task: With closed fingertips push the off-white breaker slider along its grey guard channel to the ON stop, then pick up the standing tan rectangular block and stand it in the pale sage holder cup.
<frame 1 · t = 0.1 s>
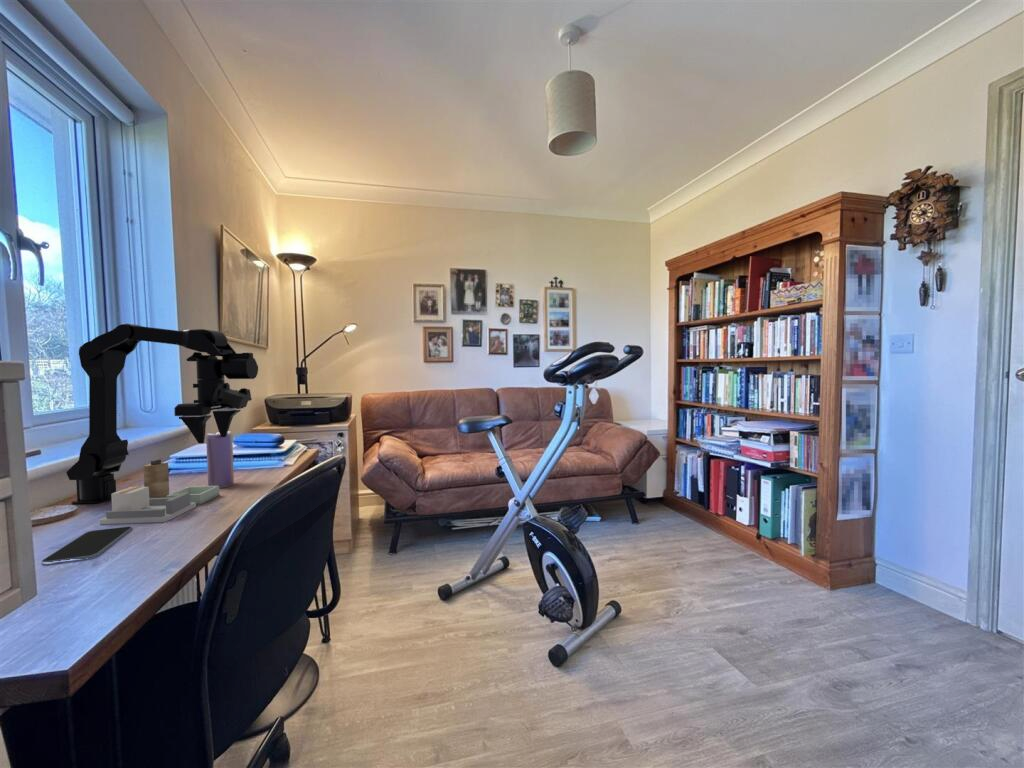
hand: (212, 440, 107), 15 cm above the table, fingers open, 9 cm apart
smartphone: (91, 547, 79), on the table
beverage can: (221, 486, 117), on the table
holder: (194, 500, 105), on the table
breaker: (131, 499, 94), point 4 cm above the table, slide at 0.0 cm
panel: (150, 514, 94), on the table
tan rectangular block: (157, 499, 106), on the table
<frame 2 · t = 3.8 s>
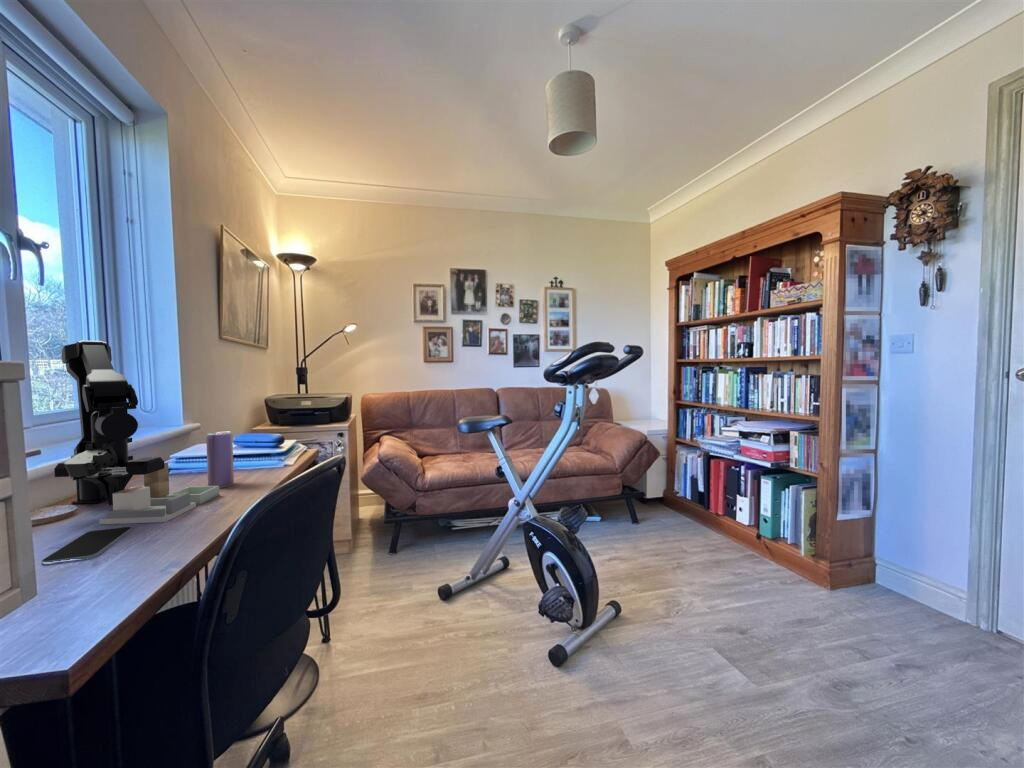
hand: (113, 504, 93), 3 cm above the table, fingers closed
breaker: (132, 499, 94), point 4 cm above the table, slide at 0.2 cm, touching gripper
everything else where it was.
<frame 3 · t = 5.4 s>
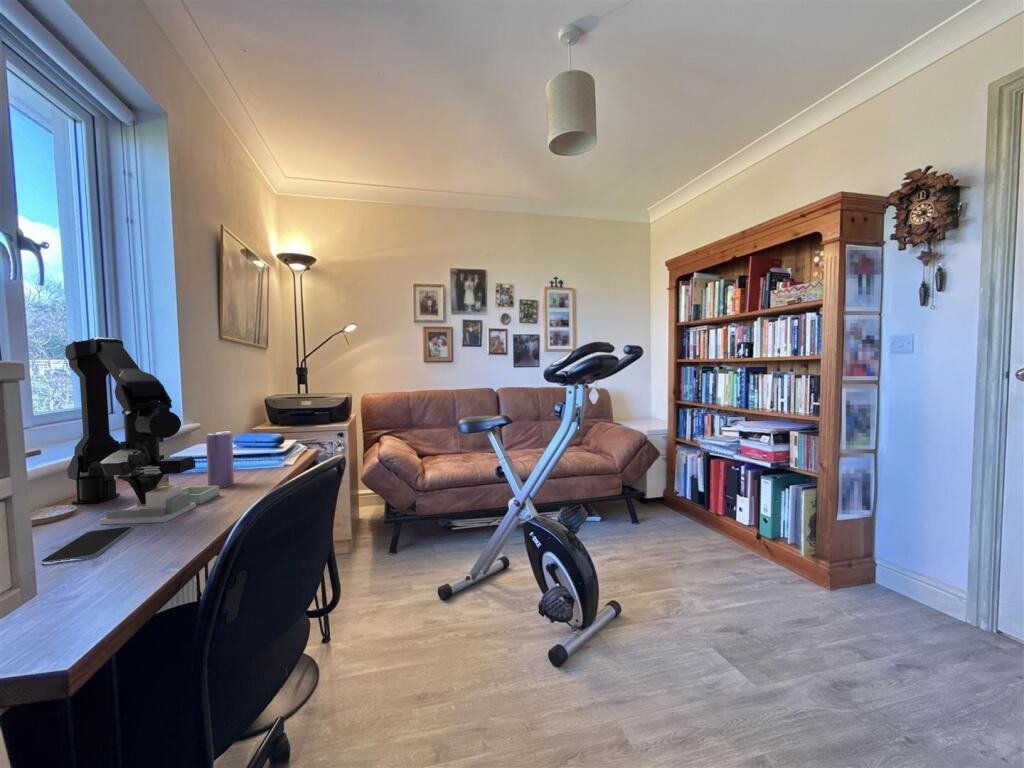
hand: (145, 503, 94), 3 cm above the table, fingers closed
breaker: (163, 498, 94), point 4 cm above the table, slide at 6.9 cm, touching gripper
everything else where it was.
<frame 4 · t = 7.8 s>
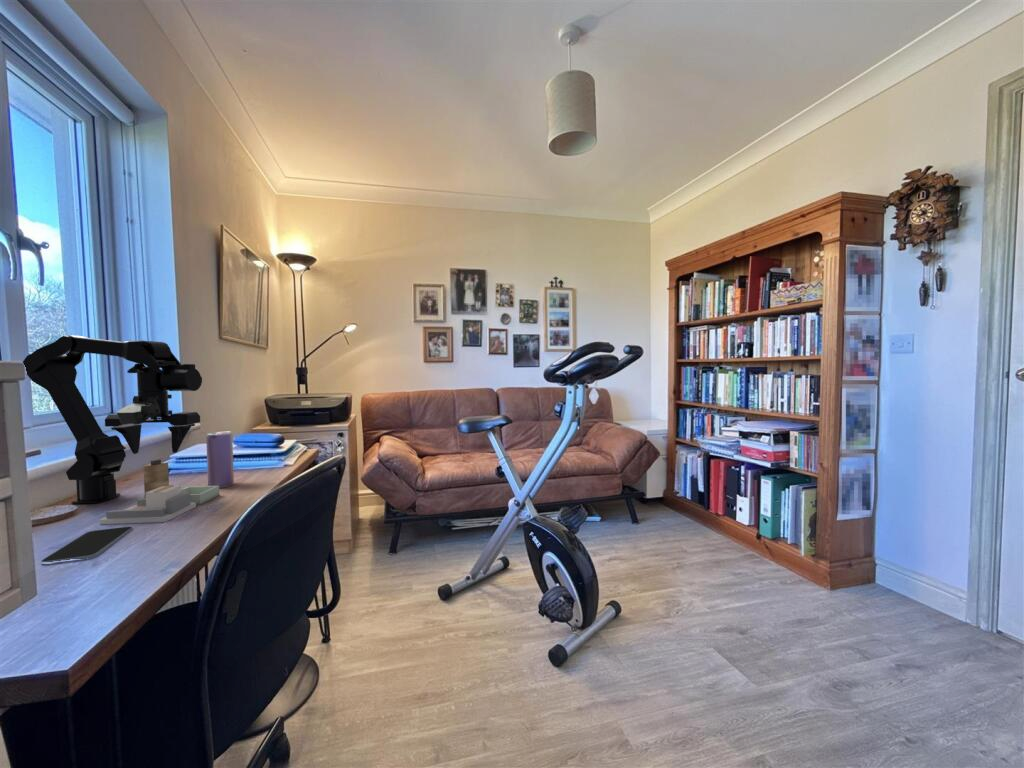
hand: (155, 453, 105), 12 cm above the table, fingers open, 9 cm apart
breaker: (164, 498, 94), point 4 cm above the table, slide at 6.9 cm
everything else where it was.
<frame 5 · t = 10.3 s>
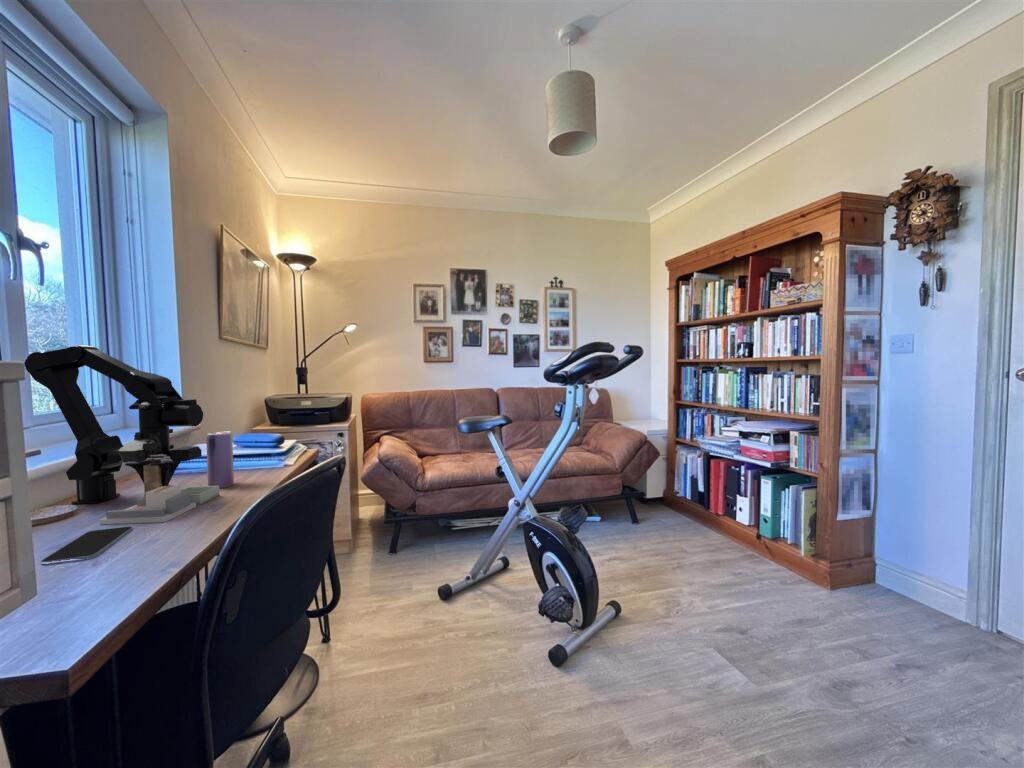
hand: (156, 488, 106), 3 cm above the table, fingers closed on tan rectangular block, 3 cm apart
tan rectangular block: (157, 499, 106), on the table, touching gripper
everything else where it was.
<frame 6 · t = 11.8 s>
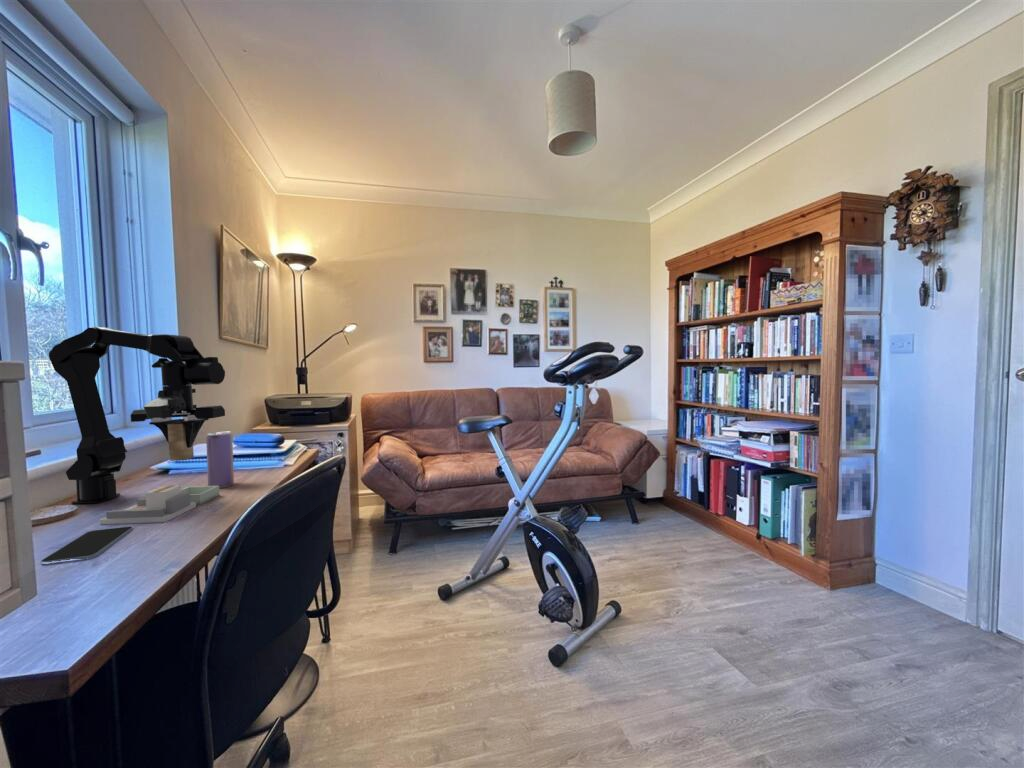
hand: (181, 447, 104), 13 cm above the table, fingers closed on tan rectangular block, 3 cm apart
tan rectangular block: (182, 459, 105), point 10 cm above the table, touching gripper
everything else where it was.
when the fingers open (5 cm above the table, at t = 13.6 s): tan rectangular block drops 2 cm, resting on holder.
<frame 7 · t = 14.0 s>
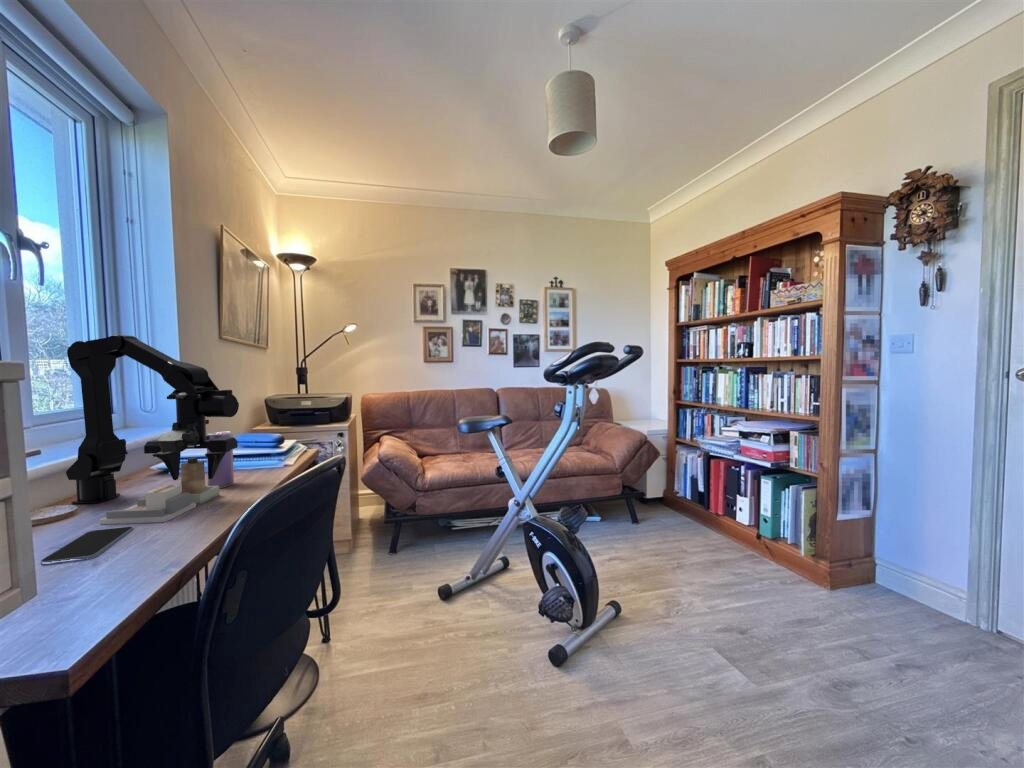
hand: (193, 479, 104), 5 cm above the table, fingers open, 8 cm apart
tan rectangular block: (193, 497, 105), point 1 cm above the table, touching holder
everything else where it was.
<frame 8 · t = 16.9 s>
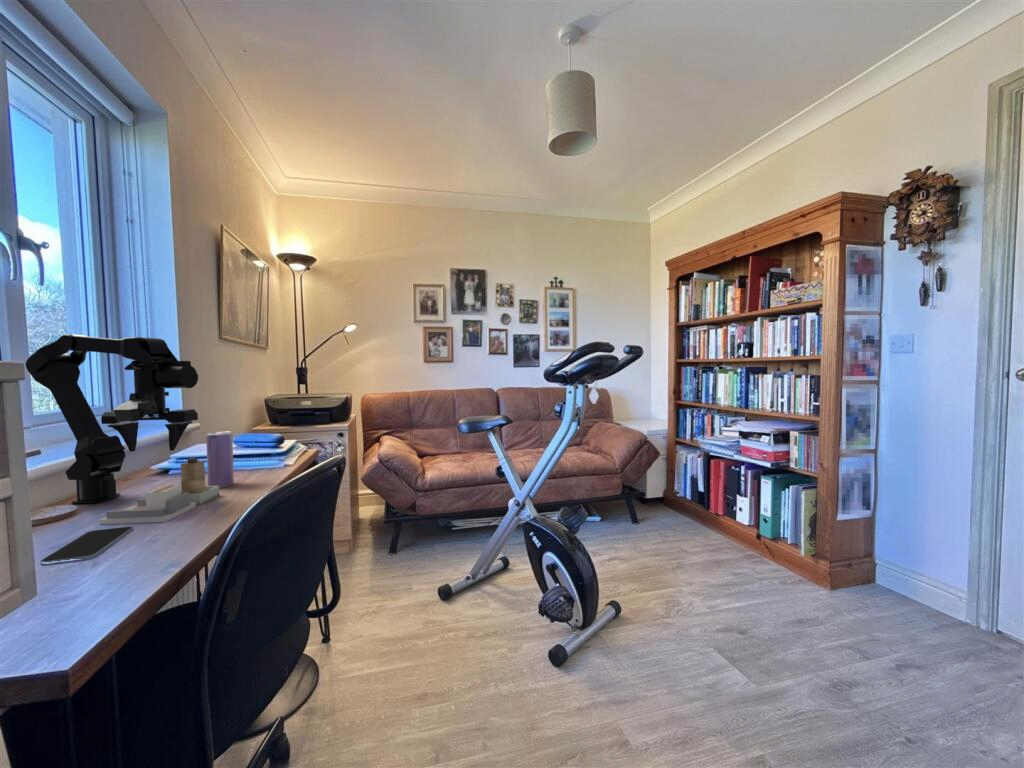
hand: (152, 450, 104), 13 cm above the table, fingers open, 9 cm apart
nothing on the table moved.
at the end: breaker slide at 6.9 cm; tan rectangular block 0.1 cm off-centre on the holder, point 0.6 cm above the holder's base; tan rectangular block tilted 0° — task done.
